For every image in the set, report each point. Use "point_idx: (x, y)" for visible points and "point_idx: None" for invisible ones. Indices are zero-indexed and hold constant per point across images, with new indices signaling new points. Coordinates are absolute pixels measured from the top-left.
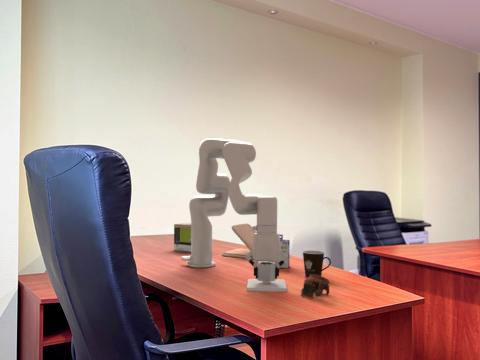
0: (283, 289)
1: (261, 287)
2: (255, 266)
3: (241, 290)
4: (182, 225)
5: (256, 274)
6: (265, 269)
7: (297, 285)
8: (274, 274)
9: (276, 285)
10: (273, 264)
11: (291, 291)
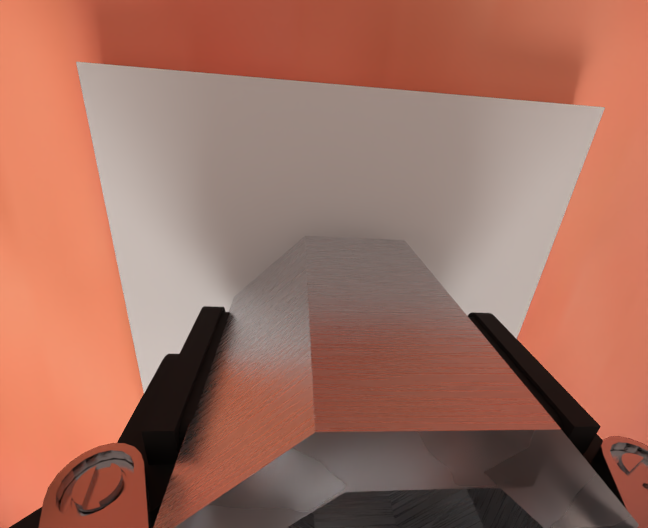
0: (131, 68)
1: (424, 116)
2: (614, 466)
3: (617, 137)
4: None
5: (508, 340)
6: (426, 336)
7: (27, 351)
8: (231, 336)
9: (227, 226)
10: (208, 512)
11: (41, 92)
